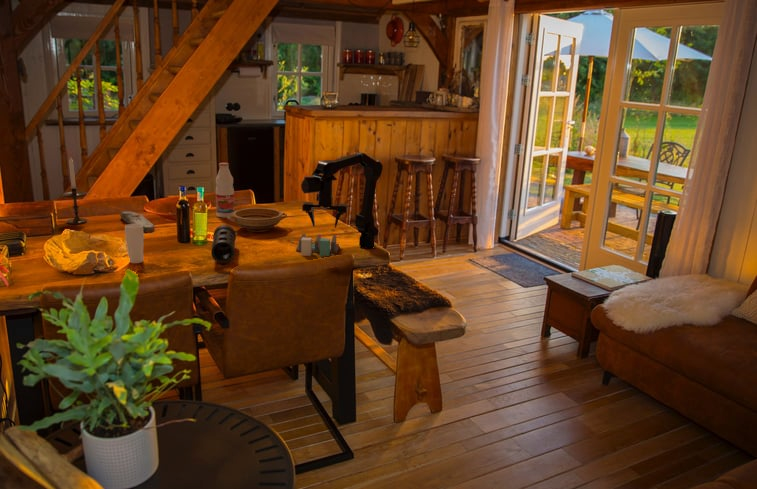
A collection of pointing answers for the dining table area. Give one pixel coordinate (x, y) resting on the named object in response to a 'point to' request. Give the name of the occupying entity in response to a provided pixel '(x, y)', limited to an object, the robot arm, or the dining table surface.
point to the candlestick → (74, 196)
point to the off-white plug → (306, 246)
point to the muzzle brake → (223, 244)
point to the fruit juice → (224, 192)
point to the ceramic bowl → (257, 218)
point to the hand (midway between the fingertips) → (324, 226)
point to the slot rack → (316, 245)
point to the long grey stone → (137, 220)
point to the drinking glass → (134, 242)
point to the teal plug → (324, 247)
